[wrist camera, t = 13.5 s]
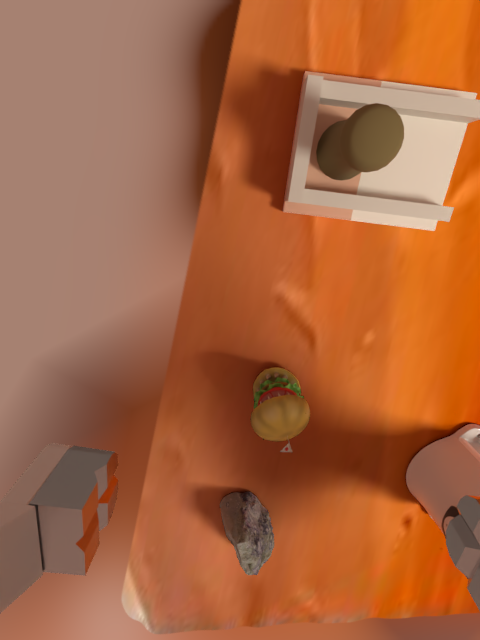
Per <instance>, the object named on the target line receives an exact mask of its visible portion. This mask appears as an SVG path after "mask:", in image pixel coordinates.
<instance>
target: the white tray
mask: <svg viewBox="0 0 480 640" xmlns="http://www.w3.org/2000/svg"><path fill="white" fill-rule="evenodd" d="M476 95H477V93H472V92H464V91H456V90H448V89H441V88H433V87H425V86H417V85H410V84H402V83H394V82H386V81H379V80H371V79H363V78H355V77H348V76H340V75H332V74H325V73H317V72H309V71H305V73H304V75H303V81H302V87H301V94H300V100H299V107H298V113H297V119H296V126H295V132H294V139H293V145H292V152H291V158H290V165H289V171H288V178H287V184H286V191H285V197H284V204H283V210H282V211H283V212H288V213H296V214H304V215H312V216H320V217H328V218H336V219H344V220H352V221H360V222H368V223H376V224H384V225H392V226H400V227H408V228H416V229H423V230H431V231H435V228H436V224H437V221H438V220H440V221H447V222H449V221H450V218H451V215H452V212H453V209H454V207H446V206H442V205H443V202H444V199H445V195H446V192H447V189H448V186H449V182H450V179H451V176H452V173H453V170H454V166H455V163H456V160H457V157H458V153H459V150H460V147H461V144H462V141H463V137H464V134H465V131H466V128H467V124H468V123H470V122H473V121H476V120H480V100H475V99H476ZM374 103H379V104H384V105H388V106H390V107H391V108H393V109H395V110H396V111H397V113H398V114H399V115H400V117H401V119H402V122H403V125H404V139H403V143H402V146H401V149H400V150H399V152H398V154H397V155H396V157H395V158H394V159H393V160H392V161H391V162H390V163H389V164H388V165H387V166H385V167H383V168H381V169H379V170H378V171H372V172H361V173H360V174H358V175H357V176H355V177H353V178H351V179H348V180H342V181H340V180H334V179H331V178H330V177H328V176H326V175H325V174H324V173H323V171H322V170H321V169H320V167H319V164H318V162H317V155H316V150H317V145H318V141H319V140H320V138H321V136H322V134H323V133H324V131H325V130H326V129H327V128H328V127H329V126H331V125H333V124H334V123H336V122H338V121H343V120H347V119H348V118H349V117H350V116H351V115H352V114H353V113H354V112H355V111H356V110H358V109H360V108H361V107H363V106H365V105H369V104H374Z"/></svg>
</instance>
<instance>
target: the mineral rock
mask: <svg viewBox="0 0 480 640" xmlns="http://www.w3.org/2000/svg"><path fill="white" fill-rule="evenodd" d="M220 508H221V516H222V521H223V525H224V529H225V533H226V536H227V537H228V539H229V540H230V541H231V543H232V544H233V545H234V548H235V550H236V554H237V558H238V560H239V563H240V565H241V567H242V568H243V570H244V571H245V573H246V574H248V575H253V574H254V575H257V574H258V572H259V570H260V568H261V567H262V565H263V564H264V563H265V562H266V561H267V560H268V559H269V558H270V556H271V553H272V550H273V548H274V534H273V532H272V529H273V527H272V525H271V522H270V521H271V518H270V517H269V512H268V510H267V509H266V508H264V507H263V506H262V505H261V503H260V501H259V500H258V498H257V497H256V496H255V495H253V494H252V493H251V492H245V493H239V492H234V493H231V494H229V495H227V496H225V497H224V498H222V500H221V502H220Z"/></svg>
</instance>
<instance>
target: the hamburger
mask: <svg viewBox="0 0 480 640" xmlns="http://www.w3.org/2000/svg"><path fill="white" fill-rule="evenodd" d="M253 394H254V402H255V403H254V411H253V412H252V413H251V426H252V428H253V430H254V431H255V432H256V433H257V435H258V436H260V437H261V438H263V440H264V439H266V440H269V441H284V440H288V442H289V439H291V438H293V437H295V436H297V435H298V434H300V433H301V432H302V431H303V430H304V429H305V427H306V426H307V424H308V422H309V419H310V408H309V405H308V403H307V401H306V400H305V399H304V396H301V387H300V384H299V381H298V379H297V378H296V377H295V375H293V374H292V373H291V372H290V371H288V370H286V369H284V368H280V367H272V368H269V369H265V370H264V371H263V372H261V373H260V374H259V376H258V377H257V378H256V380H255V382H254V384H253ZM280 452H291V453H292V449H291V446H290V442H289V443H288V444H287V445H286V446H285V447H284V448H283V449H282V450H281V451H280Z"/></svg>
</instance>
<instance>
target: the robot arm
mask: <svg viewBox="0 0 480 640" xmlns="http://www.w3.org/2000/svg"><path fill="white" fill-rule="evenodd" d="M117 466H118V454H117V453H116V452H112V451H106V450H99V449H92V448H85V447H78V446H68V445H62V444H56V443H51V444H49V445H47V446H46V447H45V448H44V449H43V450H42V451H41V453H40V454H39V455H38V456H37V457H36V459H35V460H34V461H33V462H32V464H31V465H30V466H29V467H28V468H27V470H26V471H25V472H24V473H23V474H22V476H21V477H20V478H19V479H18V480H17V482H16V483H15V484H14V485H13V487H12V488H11V489H10V490H9V492H8V493H7V494H6V495H5V497H4V498H3V499H2V500H1V501H0V613H1V612H2V611H3V610H4V609H6V608H7V607H8V606H9V605H10V604H11V603H12V602H13V601H14V600H16V599H17V598H18V597H19V596H20V595H21V594H22V593H23V592H24V591H25V590H27V589H28V588H29V587H30V586H31V585H32V584H33V583H34V582H36V580H38V579H39V578H40V577H41V576H42V575H43V572H51V573H63V574H74V575H86V573H87V571H88V568H89V566H90V564H91V562H92V559H93V557H94V555H95V553H96V550H97V548H98V546H99V531H100V530H101V529H103V528H104V527H105V526H106V525H108V523H109V521H110V518H111V516H112V513H113V510H114V506H115V503H116V500H117V493H118V479H117V478H116V477H115V475H114V473H115V471H116V469H117ZM406 483H407V487H408V489H409V491H410V492H411V494H412V495H413V496H414V497H415V498H416V499H417V500H418V501H419V502H420V503H421V504H422V506H423V507H424V508H425V509H426V511H427V513H428V514H429V516H430V517H431V518H432V519H433V520H434V521H435V523H436V524H437V525H438V527H439V528H440V530H441V531H442V532H443V534H444V535H445V538H446V545H447V548H448V551H449V555H450V557H451V559H452V561H453V562H454V564H455V566H456V567H457V568H458V569H459V570H460V571H461V572H462V573H463V574H464V575H465V576H466V577H467V579H468V586H467V588H468V590H469V592H470V594H471V596H472V598H473V599H474V601H475V603H476V605H477V607H478V609H479V610H480V426H479V425H476V424H468V425H465V426H464V427H462V428H461V429H459V430H458V431H457V432H455V433H454V434H453V435H451V436H448V437H446V438H443V439H440V440H438V441H435V442H433V443H431V444H429V445H428V446H426V447H425V448H423V449H422V450H421V451H420V452H418V453H417V454H416V456H415V457H414V458H413V459H412V461H411V462H410V464H409V466H408V469H407V472H406Z"/></svg>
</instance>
